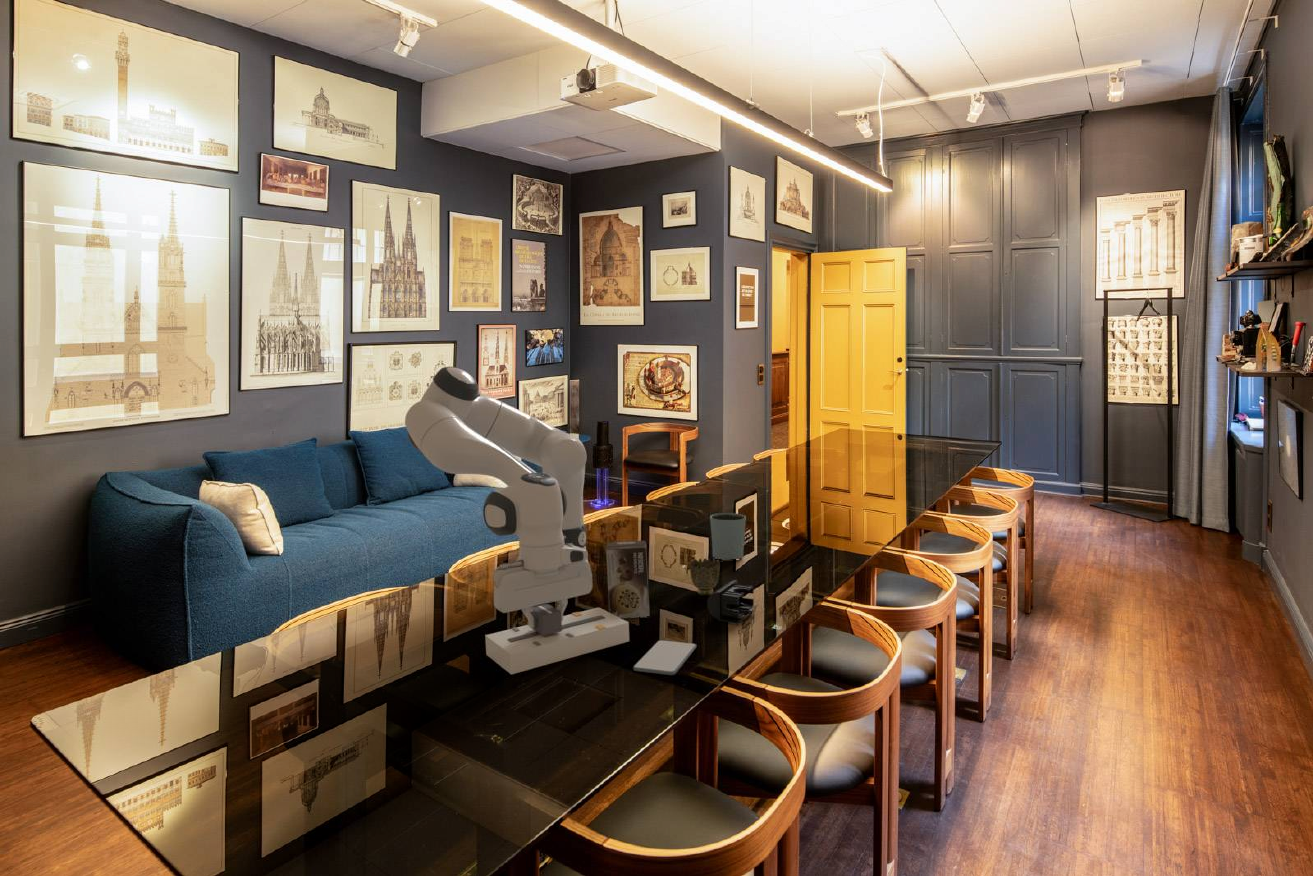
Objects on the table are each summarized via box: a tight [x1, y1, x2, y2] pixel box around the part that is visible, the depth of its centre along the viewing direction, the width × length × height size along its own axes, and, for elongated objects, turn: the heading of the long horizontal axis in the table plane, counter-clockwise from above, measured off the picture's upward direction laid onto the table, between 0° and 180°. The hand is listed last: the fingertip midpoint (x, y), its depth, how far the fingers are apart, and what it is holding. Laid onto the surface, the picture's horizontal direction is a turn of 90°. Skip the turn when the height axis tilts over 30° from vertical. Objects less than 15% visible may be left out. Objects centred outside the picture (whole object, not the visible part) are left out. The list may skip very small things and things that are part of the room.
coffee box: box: [605, 540, 650, 619], centre depth 171 cm, size 9×6×16 cm
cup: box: [689, 558, 721, 596], centre depth 184 cm, size 8×7×8 cm
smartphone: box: [632, 640, 697, 676], centre depth 147 cm, size 8×1×15 cm
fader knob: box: [530, 603, 562, 636], centre depth 151 cm, size 4×6×4 cm, turn 34°
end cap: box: [707, 579, 755, 624], centre depth 169 cm, size 10×7×7 cm
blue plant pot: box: [709, 512, 747, 560], centre depth 216 cm, size 10×10×12 cm
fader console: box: [484, 607, 630, 675], centre depth 153 cm, size 26×12×4 cm, turn 124°
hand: (545, 623), depth 151 cm, fingers closed on fader knob, 4 cm apart
